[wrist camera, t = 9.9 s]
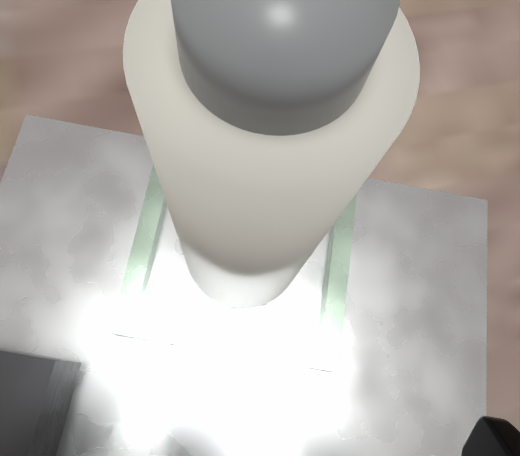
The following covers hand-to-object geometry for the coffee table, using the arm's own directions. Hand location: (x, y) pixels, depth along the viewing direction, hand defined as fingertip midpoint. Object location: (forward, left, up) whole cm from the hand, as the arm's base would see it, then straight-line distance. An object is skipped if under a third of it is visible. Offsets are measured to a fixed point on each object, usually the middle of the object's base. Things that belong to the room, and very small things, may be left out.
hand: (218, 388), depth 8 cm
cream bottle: (+5, -2, -11) cm, 12 cm away
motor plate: (+2, -1, -14) cm, 14 cm away
